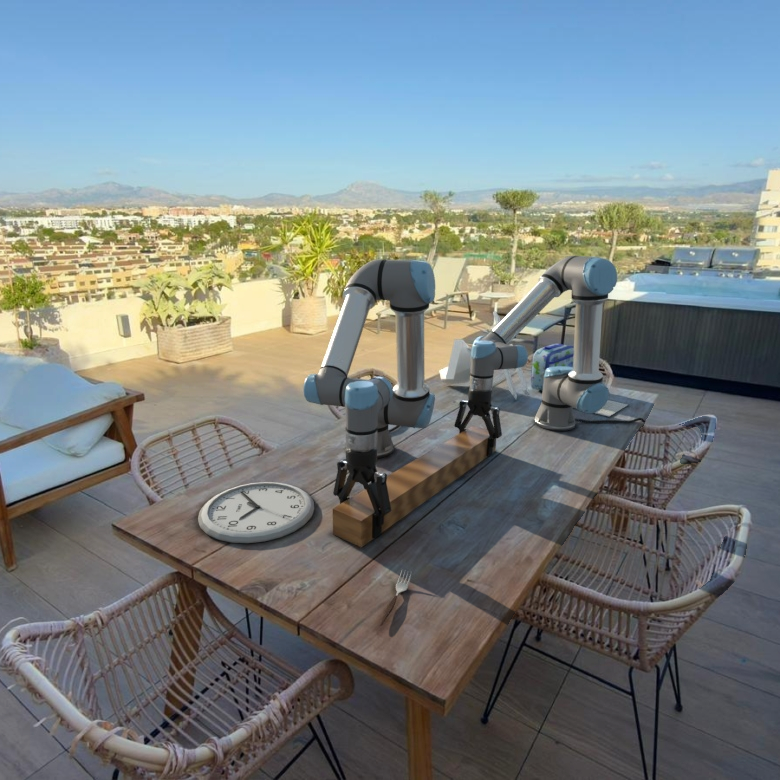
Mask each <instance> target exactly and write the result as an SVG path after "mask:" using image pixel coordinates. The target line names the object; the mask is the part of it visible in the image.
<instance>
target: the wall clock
mask: <svg viewBox="0 0 780 780" xmlns="http://www.w3.org/2000/svg"><path fill="white" fill-rule="evenodd" d="M314 512H315V503H314V499H313V498H312V497H311V495H310V493H307V492H306V491H304V490H303V489H301V488H300V487H297V486H295V485H292V484H289V483H283V482H276V481H275V482H274V481H273V482H272V481H261V482H251V483H245V484H241V485H237V486H235V487H234V486H233V487H231V488H229V489H226V490H224V491H222V492H219V493H217V494H215V495H214V496H213V497H211V499H209V500H208V501H206V502H205V503H204V505H202V507H201V509H200V510H199V512H198V518H197V521H198V525H199V528H200V530H202V531H203V532H204V533H205V534H206V535H207V536H210V537H212V538H213V539H215V540H218V541H222V542H227V543H233V544H234V543H235V544H253V543H262V542H269V541H272V540H276V539H280V538H283V537H285V536H287V535H290V534H292V533H294V532H296V531H298V530H299V529H300V528H302V527H304V526H305V525H306V524H307V523H308V522H309V520H310V519H312V517H313V515H314Z"/></svg>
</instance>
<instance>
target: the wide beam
mask: <svg viewBox="0 0 780 780" xmlns="http://www.w3.org/2000/svg"><path fill="white" fill-rule="evenodd" d="M465 429H466V430H465V431H463V432H461V433H460V434H459V433H458V434H455V436H453V437H451V438H450V439H447V440H446V441H445V442H443V443H441V444H439V445H438V446H436V447H434V448H432V449H431V450H429V451H428V452H426V453H424V454H422V455H421V456H419V457H417V458H416V459H414V460H413V461H410V462H409V463H407V464H405V465H404V466H402V467H400V468H399V469H397V470H396V471H394V472H392V473H389V474H387V481H386V484H387V489H388V494H389V500H390V505H391V512H389V513H388V514H386V515H385V516H384V524H383V525H382V533H384V532H386V531H387V530H388V529H389V528H390V527H392V526H394V525H395V524H396V523H397V522H399V521H400V520H401V519H403V518H405V517H406V516H407V515H409V514H411V512H413V511H414V510H416V509H417V508H419V507H420V506H421V505H423V504H424V503H426V502H427V501H429V499H431V498H432V497H434V496H435V495H436V494H438V493H439V492H441V491H442V490H443V489H446V487H447V486H449V485H451V484H452V483H453V482H455V481H456V480H458V479H459V478H460V477H462V476H464V475H465V474H466V473H467V472H468V471H470V470H471V469H473V468H475V466H477V465H479V464H480V463H481V462H482V461H484V460H486V459H487V458H488V457H487V444H488V438H489V437H490V435H489V433H488V430H487V428H484V427H481V426H476V425H471V426H470V427H468V428H465ZM496 450H497V442H496V443H495V447H493V451H492V454H494V453H495V452H496ZM349 498H350V499H348V500H346V501H344V502H343V503H341V504H340V503H339V504H338V505H336V506H334V507H333V508H332V535H333V536H336V537H338V538H340V539H342V540H343V541H347V542H349V543H351V544H353V545H354V546H357V547H359V548H363V547H364V546H366V545H367V544H369V543H370V542H371V541H373V540H375V539H374V538H372V517H373V514H374V513H375V511H374V509H373V506H372V503H371V501H370V498H369V495H368V493H367V490H366V489H363V490H362V491H360V492H358V493H356V494H355V495H353V496H351V497H349ZM379 509H380V508H379Z"/></svg>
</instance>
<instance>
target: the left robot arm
mask: <svg viewBox="0 0 780 780" xmlns="http://www.w3.org/2000/svg"><path fill="white" fill-rule="evenodd" d="M435 278H436V277H435V273H434V268H433V267H432V265H431V263H429V262H427V261H426V260H425V261H424V260H416V259H385V258H379V259H378V258H377V259H374V260H373V259H372V260H371V261H368V262H367V263H365V264H363V265H362V266H360V268H359V269H357V270H356V271H355V272H354V273H353V274H352V276H351V277H350V278H349V279H348V281H347V282H346V284H345V287H344V290H343V292H342V299H343V303H342V306H341V308H340V311H339V315H338V317H337V320H336V323H335V325H334V328H333V332H332V335H331V337H330V340H329V342H328V345H327V348H326V351H325V354H324V356H323V359H322V362H321V365H320V368H319V371H318V373H314V374H313V373H311V374H309V375H307V377H306V378H305V379H304V383H303V388H302V389H303V391H302V392H303V397H304V398H305V401H306V402H308V403H311V404H314V405H315V404H316V405H320V406H334V407H342V408H345V409H344V410H345V412H344V414H345V416H344V417H345V446H346V447H345V458H344V459H342V460H340V461H337V463H336V466H337V467H336V468H337V472H336V476H335V481H334V487H333V496H335V497H338V500H339V504H341V503H343V502H344V501H346V500H348V499H350V498H351V497H350V496H351V492H352V491H353V488H354V486H355V485H356V483H359V484H361V485H362V486H363V490H365V489H366V490H367V493H368V495H369V498H370V501H371V503H372V506H373V509H374V511H375V513H374V514H373V517H372V538H374V539H373V540H375V539H377V538H378V537H380V536H381V535H382V533H383V532H382V525H383V524H384V516H385V515H386V514H388V513H389V512H391V505H390V500H389V494H388V489H387V484H386V481H387V476H388V474H387V473H386V472H383V473H380V472H379V471H378V469H377V467H376V465H377V461H378V459H383V458H386V457H389V456H390V455H392V454H393V452H394V442H393V439H392V436H391V433H392V432H393V431H395V430H397V429H399V428H400V427H404V428H405V427H407V428H412V429H426V428H427V427H428V426H429V424H430V422H431V420H432V416H433V412H434V409H435V402H436V396H435V394H434V393H432V392H430V386H429V385H428V384H427V383H426V381H425V313H426V312H427V311H428V310H429V309H430V304H431V303H433V302H435V301H434V300H435V298H436V279H435ZM377 301H387V302H389V309H390V310H391V311H392V312H393V313H394V317H395V346H396V349H395V351H396V375H397V377H396V379H397V380H396V381H397V383H395V384H394V386H393V385H392V382H391V381H390V380H389V379H387V378H386V377H384V376H373V377H371V378H370V379H364V378H355V377H353V378H352V377H348V376H349V372H350V370H351V366H352V364H353V360H354V357H355V354H356V351H357V349H358V346H359V343H360V340H361V337H362V333H363V330H364V328H365V324H366V321H367V319H368V315H369V312H370V310H372V309H374V307H375V305H376V302H377ZM389 425H390V426H393V427H392V428H390V429H389ZM348 473H349V474H348ZM347 475H348V476H347ZM379 508H380V509H379Z"/></svg>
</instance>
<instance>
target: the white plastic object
mask: <svg viewBox="0 0 780 780" xmlns="http://www.w3.org/2000/svg"><path fill="white" fill-rule="evenodd" d="M492 315H493V319H494V321H495V324H496V325H495V326H497V325H498V324H499V323H500V322H501V321H502V320H501V318H500V315H499V314H498V312H497V311H496V310H495V311H492ZM509 345H511V346H513V343H511V344H510V343H509ZM471 351H472V346H469V345H468V343H466V342H465V340H464V339H463V338H460V339H458V338H454V340H453V344H452V349H451V353H450V357H449V362H448V366H446V367H444V368H442V369H440V370H439V371H438V372H439V376H440V381H442V383H443V384H444V385H445V386H449V385H458V384H467V383H468V384H469V382H470V366H471ZM522 368H523V367H520V368H516V372H517V376H518V380H519V382H520V385H521V389H522V391H523V393H524V395H525V396H526V397H528V396H531V395H530V390H529V388H528V387H529V386H528V384H527V381H526V378H525V375H524V371H523V369H522ZM502 370H503V373H504V376H505V380H506V383H507V386H508V390H509V393H510V394H511V395H512V397H513V398H514V399H515V400H517V392H516V391H517V390H516V388H515V385H514V381H513V378H512V375H511V371H510V369H502Z"/></svg>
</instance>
